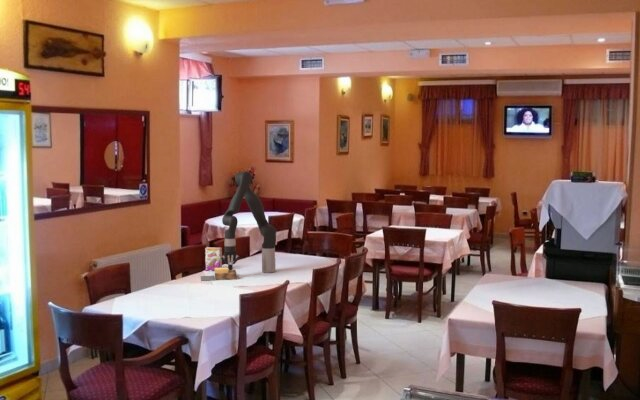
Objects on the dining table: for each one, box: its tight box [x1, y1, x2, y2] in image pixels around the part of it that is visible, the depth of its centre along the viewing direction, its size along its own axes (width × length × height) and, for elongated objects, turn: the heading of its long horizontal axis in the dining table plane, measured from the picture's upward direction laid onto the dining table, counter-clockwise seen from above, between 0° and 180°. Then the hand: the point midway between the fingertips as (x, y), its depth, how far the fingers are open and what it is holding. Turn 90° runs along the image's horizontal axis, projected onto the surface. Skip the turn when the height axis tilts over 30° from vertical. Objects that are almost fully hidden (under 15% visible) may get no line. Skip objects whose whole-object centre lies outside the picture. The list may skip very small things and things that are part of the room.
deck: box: [214, 269, 238, 281], centre depth 425 cm, size 14×13×4 cm
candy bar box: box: [204, 246, 223, 272], centre depth 449 cm, size 11×5×16 cm, turn 84°
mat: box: [200, 275, 216, 282], centre depth 423 cm, size 9×14×1 cm, turn 12°
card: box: [214, 266, 229, 274], centre depth 424 cm, size 9×6×2 cm, turn 100°
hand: (230, 270), depth 425 cm, fingers closed
